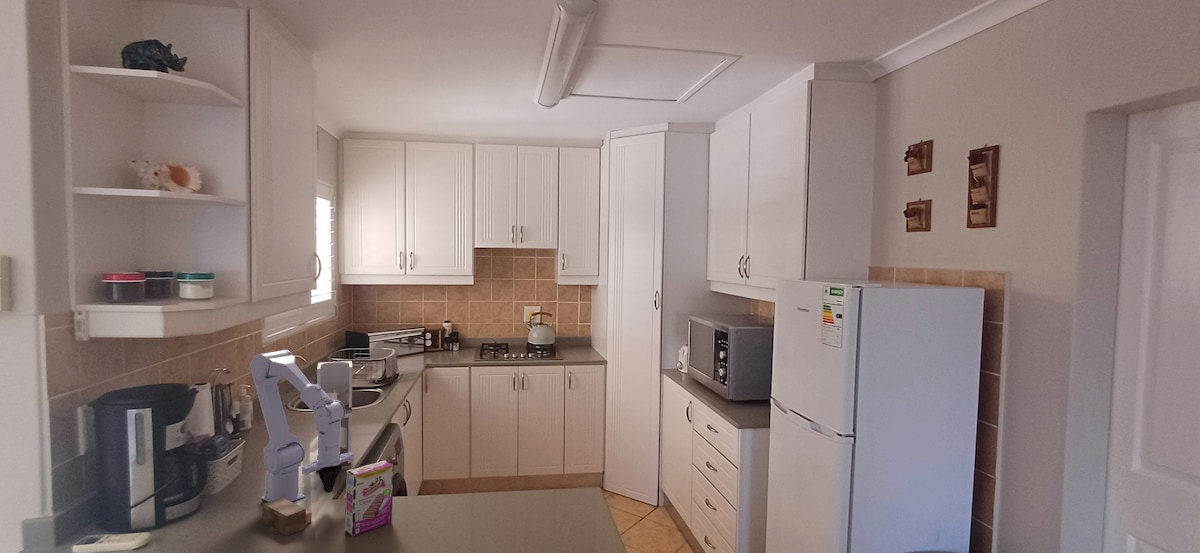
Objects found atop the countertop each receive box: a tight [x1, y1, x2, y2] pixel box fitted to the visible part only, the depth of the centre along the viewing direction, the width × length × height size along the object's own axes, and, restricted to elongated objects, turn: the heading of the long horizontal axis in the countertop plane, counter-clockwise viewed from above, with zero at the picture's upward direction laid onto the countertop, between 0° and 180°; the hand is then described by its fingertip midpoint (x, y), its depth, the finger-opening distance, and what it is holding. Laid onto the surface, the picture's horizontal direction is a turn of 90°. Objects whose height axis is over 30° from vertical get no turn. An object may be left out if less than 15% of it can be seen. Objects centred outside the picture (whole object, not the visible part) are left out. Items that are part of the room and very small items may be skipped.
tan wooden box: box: [262, 498, 307, 537], centre depth 146 cm, size 12×5×5 cm, turn 58°
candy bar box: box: [344, 460, 394, 537], centre depth 147 cm, size 11×5×16 cm, turn 141°
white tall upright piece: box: [315, 360, 353, 474], centre depth 188 cm, size 11×11×35 cm
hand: (328, 491), depth 157 cm, fingers closed
